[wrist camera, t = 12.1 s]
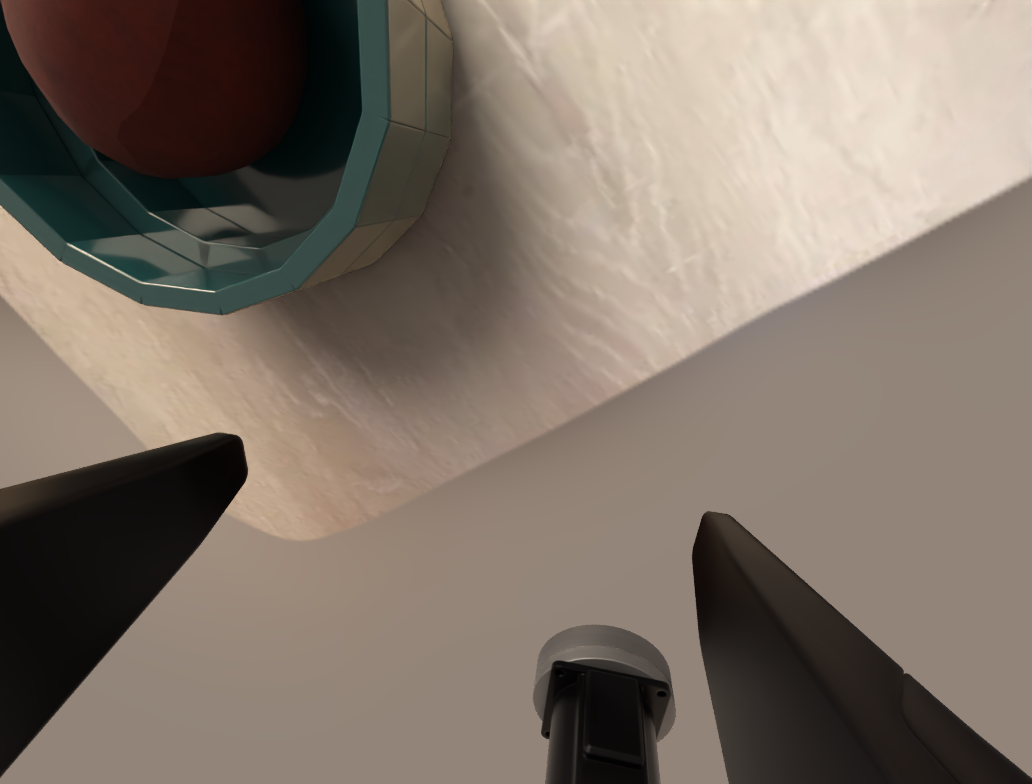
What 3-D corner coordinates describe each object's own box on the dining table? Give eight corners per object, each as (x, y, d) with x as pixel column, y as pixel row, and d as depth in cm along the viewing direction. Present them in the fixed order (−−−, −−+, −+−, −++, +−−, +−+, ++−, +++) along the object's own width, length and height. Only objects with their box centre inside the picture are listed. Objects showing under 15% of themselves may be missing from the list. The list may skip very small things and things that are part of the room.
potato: (118, 94, 19) (-132, 48, 12) (206, -143, 15) (-75, -374, 9) (273, 230, 20) (118, 252, 13) (386, 38, 16) (251, -52, 10)
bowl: (452, 296, 20) (396, 338, 15) (141, 260, 22) (-11, 286, 16) (462, -195, 14) (375, -430, 9) (33, -192, 16) (-264, -386, 10)
